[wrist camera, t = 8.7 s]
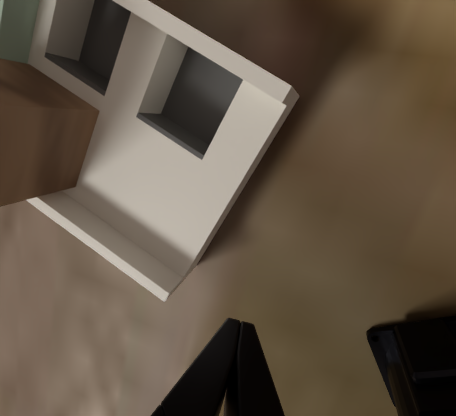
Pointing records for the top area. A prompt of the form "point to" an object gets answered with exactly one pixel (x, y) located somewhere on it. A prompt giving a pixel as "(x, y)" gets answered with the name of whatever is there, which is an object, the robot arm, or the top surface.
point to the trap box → (149, 127)
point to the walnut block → (40, 133)
